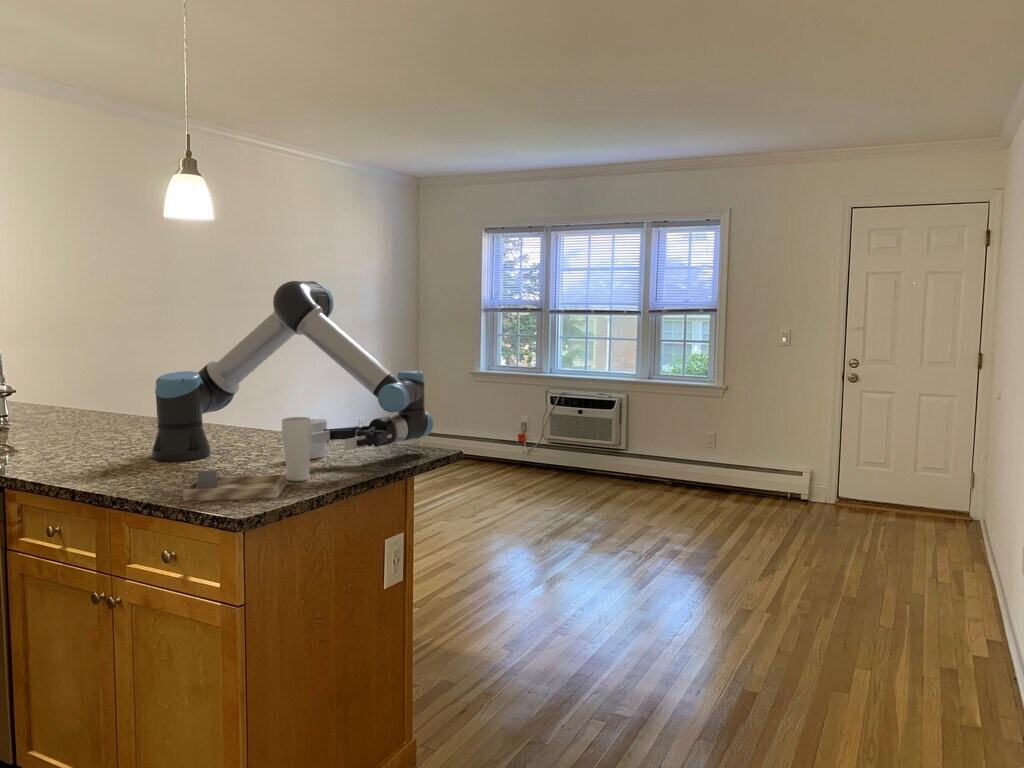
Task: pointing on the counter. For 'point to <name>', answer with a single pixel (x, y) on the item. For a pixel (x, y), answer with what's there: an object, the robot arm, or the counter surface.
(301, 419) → the drinking glass
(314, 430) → the white cup
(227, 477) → the tray
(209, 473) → the cube
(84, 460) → the counter surface
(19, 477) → the counter surface
